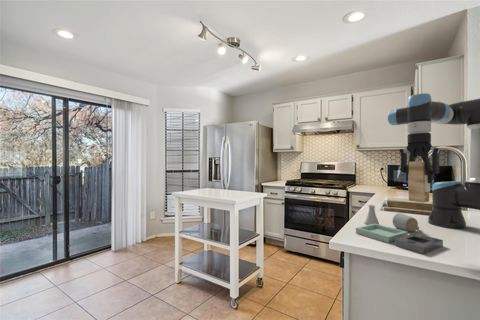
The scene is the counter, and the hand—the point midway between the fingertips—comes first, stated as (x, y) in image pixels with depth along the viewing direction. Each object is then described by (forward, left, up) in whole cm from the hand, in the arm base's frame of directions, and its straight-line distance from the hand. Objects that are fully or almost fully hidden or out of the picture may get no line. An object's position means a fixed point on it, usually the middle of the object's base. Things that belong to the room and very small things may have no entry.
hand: (418, 190), depth 94 cm
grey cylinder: (-20, -14, -23) cm, 33 cm away
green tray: (0, -15, -23) cm, 27 cm away
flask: (-14, -28, -23) cm, 39 cm away
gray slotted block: (0, 0, -23) cm, 23 cm away
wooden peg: (0, 0, -4) cm, 4 cm away
